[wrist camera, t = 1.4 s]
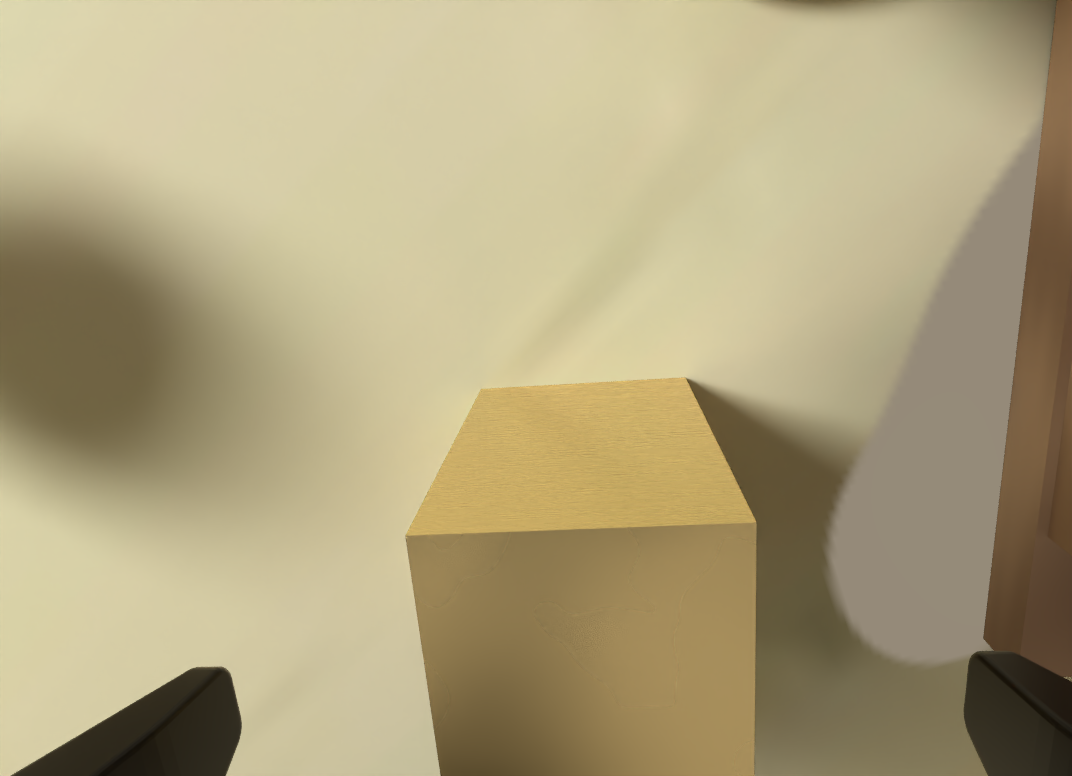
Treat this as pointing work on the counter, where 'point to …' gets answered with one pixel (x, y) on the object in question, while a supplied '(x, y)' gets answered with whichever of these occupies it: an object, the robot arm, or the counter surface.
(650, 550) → the tan block
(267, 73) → the counter surface
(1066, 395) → the notch board
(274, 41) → the counter surface
